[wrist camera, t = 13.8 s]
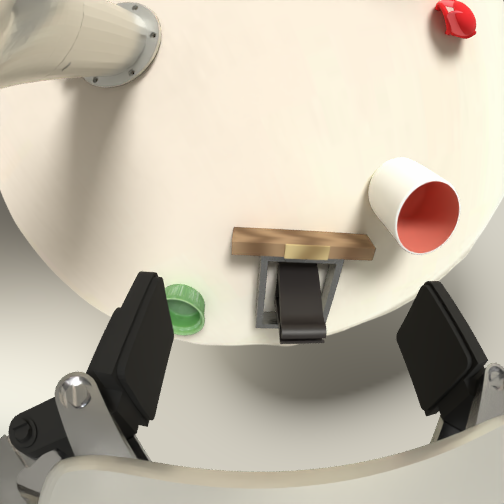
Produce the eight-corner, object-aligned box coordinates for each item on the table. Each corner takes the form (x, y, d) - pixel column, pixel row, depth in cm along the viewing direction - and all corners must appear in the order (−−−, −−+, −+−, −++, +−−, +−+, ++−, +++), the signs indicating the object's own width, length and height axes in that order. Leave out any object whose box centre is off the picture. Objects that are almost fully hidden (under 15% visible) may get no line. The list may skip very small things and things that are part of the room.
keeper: (255, 315, 49) (255, 327, 47) (261, 243, 41) (261, 254, 38) (321, 316, 49) (323, 328, 47) (339, 247, 41) (344, 258, 39)
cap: (449, 42, 20) (487, 46, 16) (440, 3, 16) (480, 7, 12) (438, 28, 23) (471, 31, 20) (429, -4, 19) (463, -2, 15)
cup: (410, 223, 39) (441, 259, 30) (357, 212, 38) (382, 249, 29) (431, 165, 33) (470, 191, 25) (376, 146, 32) (412, 168, 24)
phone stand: (278, 260, 43) (284, 317, 33) (316, 261, 43) (332, 317, 33) (274, 303, 47) (277, 360, 37) (308, 303, 48) (318, 359, 37)
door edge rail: (233, 239, 41) (231, 256, 37) (233, 226, 39) (231, 242, 36) (363, 246, 41) (372, 262, 37) (366, 234, 40) (376, 249, 36)
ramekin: (189, 324, 51) (185, 342, 47) (150, 299, 48) (143, 317, 44) (218, 300, 48) (215, 319, 44) (175, 271, 44) (168, 289, 41)
